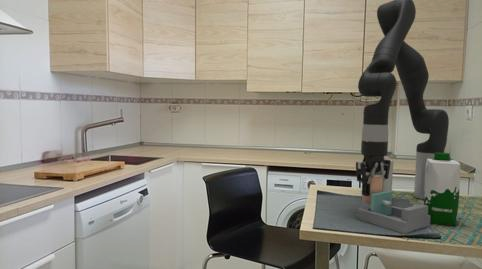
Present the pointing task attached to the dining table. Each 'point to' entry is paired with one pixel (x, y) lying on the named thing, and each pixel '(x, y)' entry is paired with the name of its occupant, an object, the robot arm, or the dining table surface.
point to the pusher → (382, 202)
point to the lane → (398, 218)
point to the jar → (374, 187)
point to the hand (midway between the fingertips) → (372, 194)
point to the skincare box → (388, 182)
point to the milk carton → (442, 189)
